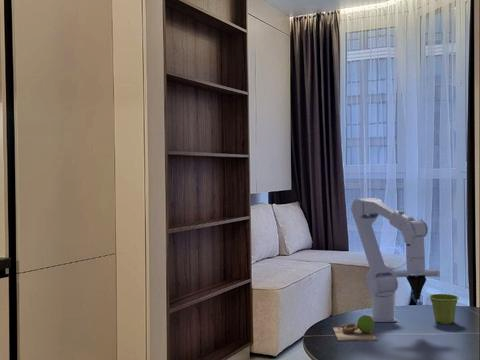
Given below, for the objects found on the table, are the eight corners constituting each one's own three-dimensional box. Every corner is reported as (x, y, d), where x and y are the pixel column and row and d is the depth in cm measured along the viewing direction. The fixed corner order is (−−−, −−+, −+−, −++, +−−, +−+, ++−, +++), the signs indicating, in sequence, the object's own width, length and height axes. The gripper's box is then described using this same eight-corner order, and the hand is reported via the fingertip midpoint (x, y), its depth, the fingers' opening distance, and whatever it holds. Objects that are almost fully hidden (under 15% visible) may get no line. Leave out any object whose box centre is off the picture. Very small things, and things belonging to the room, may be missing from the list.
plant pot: (462, 325, 172) (461, 299, 172) (432, 325, 174) (431, 299, 174) (456, 318, 181) (455, 294, 181) (428, 318, 183) (427, 293, 183)
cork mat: (333, 328, 173) (333, 327, 173) (369, 328, 173) (369, 326, 173) (338, 340, 160) (337, 339, 160) (377, 340, 159) (377, 339, 159)
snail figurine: (370, 310, 169) (335, 319, 171) (372, 316, 163) (335, 326, 165) (375, 325, 169) (340, 334, 171) (377, 332, 163) (340, 342, 165)
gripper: (395, 259, 164) (397, 302, 164) (442, 258, 163) (443, 301, 163) (390, 256, 171) (392, 297, 171) (435, 255, 170) (436, 296, 170)
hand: (416, 299), depth 168 cm, fingers closed
